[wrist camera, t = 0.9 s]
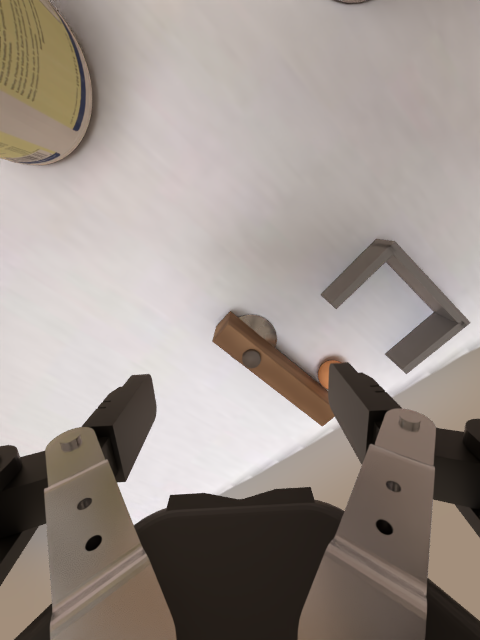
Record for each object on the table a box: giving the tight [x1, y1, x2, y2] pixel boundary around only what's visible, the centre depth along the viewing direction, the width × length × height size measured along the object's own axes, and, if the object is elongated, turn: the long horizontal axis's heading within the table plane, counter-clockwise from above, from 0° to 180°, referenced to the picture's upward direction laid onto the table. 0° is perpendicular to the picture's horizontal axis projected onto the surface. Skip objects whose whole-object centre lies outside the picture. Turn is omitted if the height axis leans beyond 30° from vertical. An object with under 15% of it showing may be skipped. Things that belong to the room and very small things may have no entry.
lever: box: [213, 311, 335, 426], centre depth 29 cm, size 2×16×5 cm, turn 49°
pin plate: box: [230, 315, 277, 360], centre depth 31 cm, size 6×6×1 cm
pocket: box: [321, 239, 470, 374], centre depth 27 cm, size 8×12×4 cm, turn 49°
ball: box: [318, 360, 341, 389], centre depth 30 cm, size 3×3×3 cm
